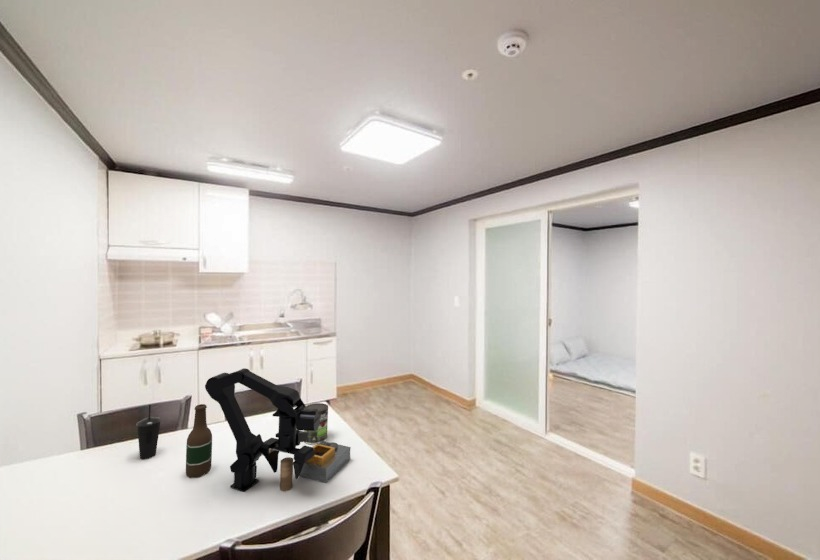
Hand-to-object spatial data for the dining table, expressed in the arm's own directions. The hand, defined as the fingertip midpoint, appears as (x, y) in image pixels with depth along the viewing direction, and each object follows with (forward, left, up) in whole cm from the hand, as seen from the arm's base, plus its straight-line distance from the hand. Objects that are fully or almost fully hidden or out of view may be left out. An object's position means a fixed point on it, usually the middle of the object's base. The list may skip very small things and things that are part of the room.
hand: (286, 475), depth 109 cm
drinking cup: (-5, +63, -4) cm, 63 cm away
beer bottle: (-5, +35, -4) cm, 36 cm away
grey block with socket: (+15, -5, -4) cm, 16 cm away
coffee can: (+32, +12, -4) cm, 34 cm away
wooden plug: (0, 0, -4) cm, 4 cm away
